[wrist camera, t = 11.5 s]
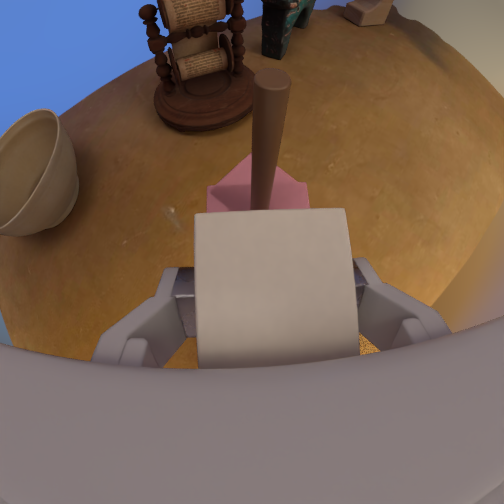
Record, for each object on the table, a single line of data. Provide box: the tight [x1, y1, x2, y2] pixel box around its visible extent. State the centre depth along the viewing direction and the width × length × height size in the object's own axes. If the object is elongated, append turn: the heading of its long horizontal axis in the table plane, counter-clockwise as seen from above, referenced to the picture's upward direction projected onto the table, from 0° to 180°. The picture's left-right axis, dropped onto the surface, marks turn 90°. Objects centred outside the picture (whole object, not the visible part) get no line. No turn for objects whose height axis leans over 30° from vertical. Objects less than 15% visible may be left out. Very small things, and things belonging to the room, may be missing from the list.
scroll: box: [139, 0, 255, 132], centre depth 25 cm, size 15×15×20 cm
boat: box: [194, 68, 360, 369], centre depth 10 cm, size 12×5×11 cm, turn 3°
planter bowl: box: [0, 109, 79, 236], centre depth 26 cm, size 16×16×11 cm
